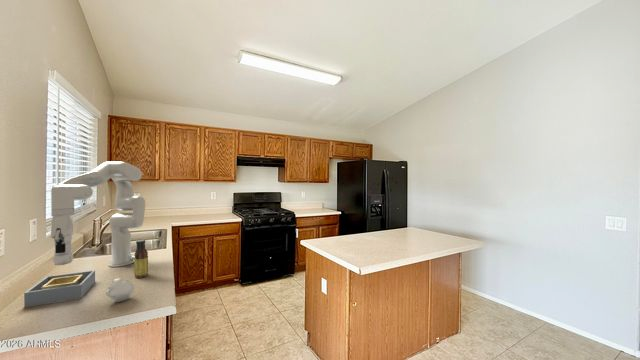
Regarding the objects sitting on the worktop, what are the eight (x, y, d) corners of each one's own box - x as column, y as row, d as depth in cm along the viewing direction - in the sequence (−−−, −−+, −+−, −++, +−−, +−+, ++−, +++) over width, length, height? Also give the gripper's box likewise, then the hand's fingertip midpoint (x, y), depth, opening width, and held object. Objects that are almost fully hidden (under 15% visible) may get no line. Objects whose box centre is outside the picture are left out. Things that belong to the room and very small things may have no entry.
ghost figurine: (111, 298, 115) (111, 275, 115) (136, 294, 119) (136, 273, 119) (102, 307, 107) (102, 283, 107) (129, 303, 110) (129, 280, 110)
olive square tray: (83, 284, 127) (83, 274, 127) (74, 293, 118) (74, 282, 117) (52, 288, 122) (52, 278, 122) (41, 298, 112) (41, 287, 112)
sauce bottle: (139, 274, 143) (138, 238, 143) (150, 273, 144) (150, 238, 144) (131, 278, 137) (131, 241, 137) (143, 278, 137) (143, 241, 137)
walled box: (95, 281, 133) (95, 270, 133) (81, 298, 115) (81, 284, 115) (47, 288, 125) (47, 276, 124) (24, 307, 107) (24, 293, 107)
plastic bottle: (76, 262, 122) (76, 220, 122) (58, 267, 115) (57, 223, 115) (68, 261, 124) (67, 220, 124) (49, 266, 118) (49, 222, 117)
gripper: (60, 210, 125) (60, 247, 125) (42, 215, 110) (43, 257, 110) (80, 209, 129) (80, 245, 129) (66, 214, 114) (66, 254, 114)
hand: (63, 250), depth 120 cm, fingers closed on plastic bottle, 5 cm apart
